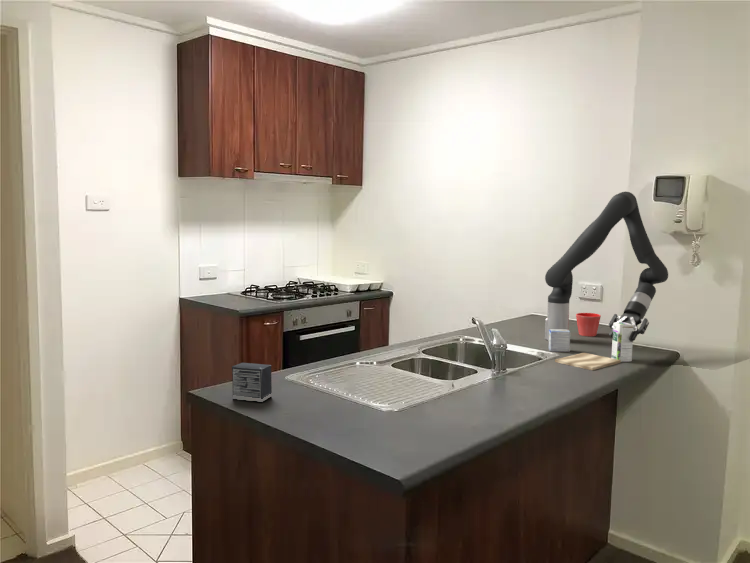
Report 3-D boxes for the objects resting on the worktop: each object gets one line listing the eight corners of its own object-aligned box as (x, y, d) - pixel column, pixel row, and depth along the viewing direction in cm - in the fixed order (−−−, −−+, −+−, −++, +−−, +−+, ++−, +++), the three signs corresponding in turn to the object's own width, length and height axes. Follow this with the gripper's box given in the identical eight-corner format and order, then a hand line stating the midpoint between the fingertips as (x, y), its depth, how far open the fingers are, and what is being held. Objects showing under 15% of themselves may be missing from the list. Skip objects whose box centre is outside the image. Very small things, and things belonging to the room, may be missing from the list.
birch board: (554, 362, 236) (555, 359, 236) (583, 355, 247) (583, 352, 247) (592, 370, 223) (592, 367, 223) (620, 362, 235) (620, 360, 235)
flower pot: (589, 338, 281) (589, 317, 280) (570, 334, 291) (571, 313, 290) (604, 335, 287) (605, 315, 286) (586, 332, 296) (586, 312, 295)
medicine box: (567, 349, 257) (568, 329, 256) (569, 352, 253) (570, 331, 252) (548, 349, 258) (548, 328, 257) (550, 351, 254) (550, 330, 253)
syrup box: (610, 358, 241) (612, 322, 240) (625, 358, 242) (626, 321, 240) (617, 362, 236) (619, 324, 234) (632, 361, 236) (634, 324, 235)
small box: (273, 397, 190) (272, 364, 189) (262, 403, 184) (261, 369, 183) (243, 394, 193) (242, 361, 192) (231, 400, 187) (230, 366, 186)
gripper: (617, 298, 247) (600, 330, 241) (652, 302, 235) (634, 335, 230) (624, 310, 250) (607, 341, 245) (658, 314, 239) (641, 347, 233)
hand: (620, 338), depth 237 cm, fingers closed on syrup box, 7 cm apart
